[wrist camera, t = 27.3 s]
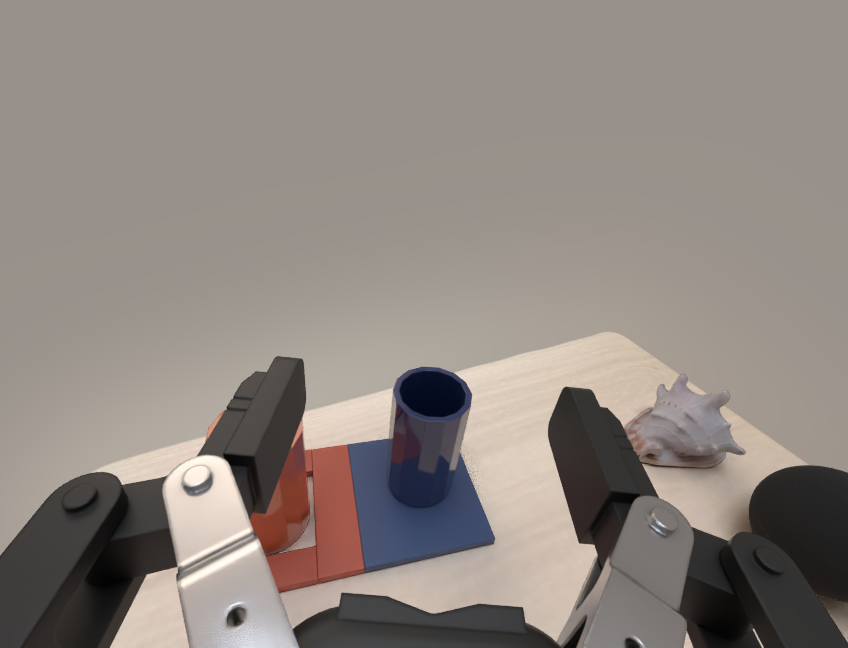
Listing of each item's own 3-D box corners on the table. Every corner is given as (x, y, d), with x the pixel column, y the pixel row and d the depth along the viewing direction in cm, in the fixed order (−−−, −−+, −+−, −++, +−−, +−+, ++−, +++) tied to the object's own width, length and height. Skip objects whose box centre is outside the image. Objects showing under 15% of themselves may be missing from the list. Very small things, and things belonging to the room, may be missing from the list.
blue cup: (393, 515, 34) (403, 427, 28) (380, 455, 39) (387, 369, 33) (460, 502, 36) (483, 416, 30) (440, 446, 41) (456, 363, 35)
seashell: (747, 466, 44) (799, 406, 39) (676, 501, 40) (725, 437, 35) (669, 404, 52) (704, 346, 47) (601, 426, 47) (632, 365, 42)
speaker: (740, 489, 42) (799, 423, 36) (865, 567, 36) (959, 502, 30) (713, 553, 36) (780, 484, 30) (859, 659, 30) (974, 598, 24)
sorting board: (207, 609, 28) (205, 604, 28) (229, 466, 38) (227, 460, 37) (493, 543, 34) (495, 538, 34) (449, 434, 44) (450, 429, 43)
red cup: (227, 564, 31) (197, 475, 25) (236, 491, 36) (213, 401, 30) (311, 547, 32) (303, 459, 26) (308, 479, 37) (301, 393, 31)
